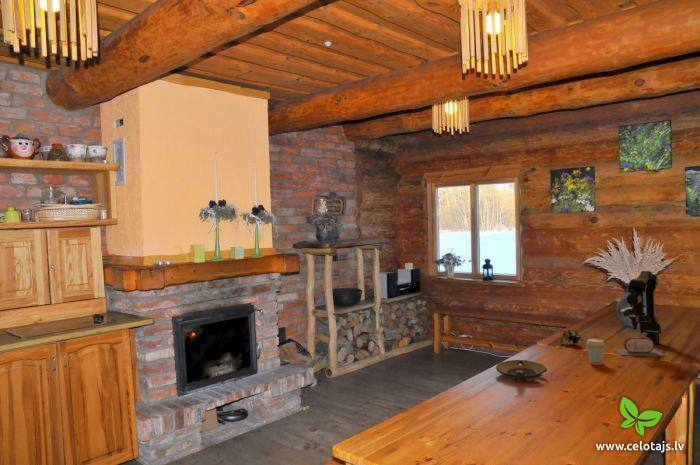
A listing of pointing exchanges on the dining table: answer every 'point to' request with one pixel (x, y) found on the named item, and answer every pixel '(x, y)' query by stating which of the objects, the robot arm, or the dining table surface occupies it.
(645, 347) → the tin
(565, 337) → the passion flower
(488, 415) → the dining table surface
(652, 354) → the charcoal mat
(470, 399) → the dining table surface
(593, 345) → the coffee cup
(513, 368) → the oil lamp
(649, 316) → the robot arm
